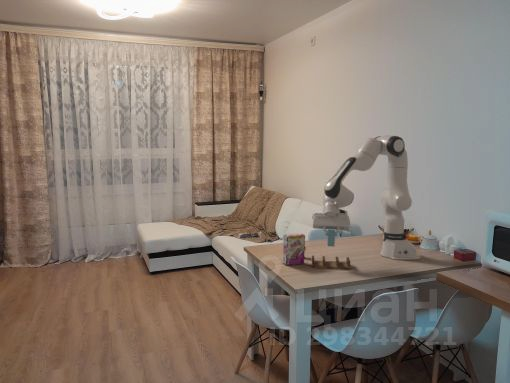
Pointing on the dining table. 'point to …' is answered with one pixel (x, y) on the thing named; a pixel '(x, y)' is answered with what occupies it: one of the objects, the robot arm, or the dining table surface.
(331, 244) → the teal rectangular block
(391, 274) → the dining table surface
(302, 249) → the candy bar box
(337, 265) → the rack
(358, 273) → the dining table surface
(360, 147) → the robot arm
